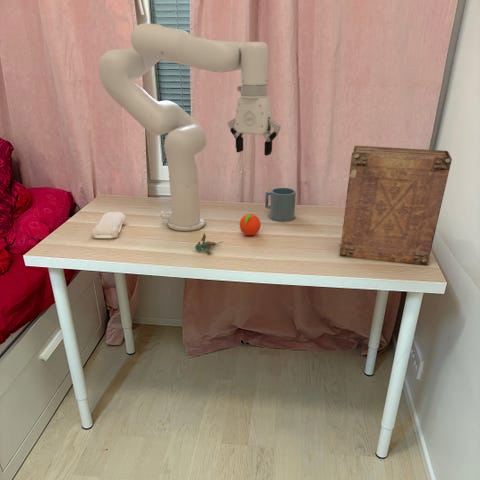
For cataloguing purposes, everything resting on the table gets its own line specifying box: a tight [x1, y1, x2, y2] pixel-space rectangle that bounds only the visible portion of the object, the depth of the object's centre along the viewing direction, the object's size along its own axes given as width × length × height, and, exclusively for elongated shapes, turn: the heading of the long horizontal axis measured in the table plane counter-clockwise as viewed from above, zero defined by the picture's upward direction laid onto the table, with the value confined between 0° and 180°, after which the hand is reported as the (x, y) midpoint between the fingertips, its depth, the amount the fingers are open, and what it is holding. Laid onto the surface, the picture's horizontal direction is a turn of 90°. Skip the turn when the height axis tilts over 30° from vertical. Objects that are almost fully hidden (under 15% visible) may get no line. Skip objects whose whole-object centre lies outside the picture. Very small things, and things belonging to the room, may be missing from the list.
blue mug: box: [264, 187, 297, 222], centre depth 171 cm, size 12×9×10 cm
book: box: [339, 145, 453, 266], centre depth 136 cm, size 25×9×30 cm, turn 75°
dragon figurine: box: [194, 233, 223, 255], centre depth 147 cm, size 7×7×8 cm
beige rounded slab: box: [91, 211, 127, 239], centre depth 160 cm, size 18×8×4 cm, turn 179°
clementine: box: [239, 213, 261, 236], centre depth 155 cm, size 8×7×7 cm
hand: (253, 153), depth 146 cm, fingers open, 9 cm apart
